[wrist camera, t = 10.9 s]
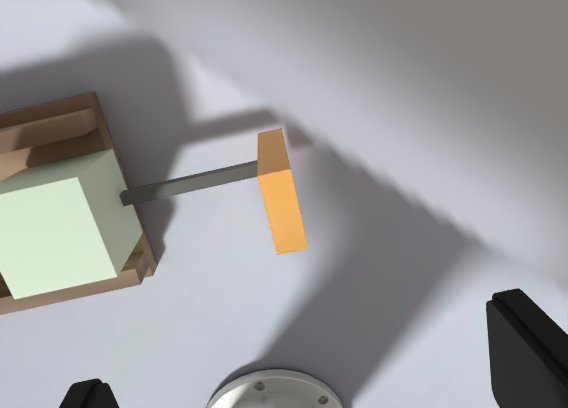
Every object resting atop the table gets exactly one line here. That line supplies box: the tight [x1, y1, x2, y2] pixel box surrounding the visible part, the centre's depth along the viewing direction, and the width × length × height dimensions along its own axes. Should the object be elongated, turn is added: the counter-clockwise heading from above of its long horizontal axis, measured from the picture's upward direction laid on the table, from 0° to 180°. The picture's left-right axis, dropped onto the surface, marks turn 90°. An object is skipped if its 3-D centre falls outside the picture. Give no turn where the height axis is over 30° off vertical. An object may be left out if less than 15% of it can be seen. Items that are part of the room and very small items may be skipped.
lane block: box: [0, 128, 308, 299], centre depth 25 cm, size 6×17×10 cm, turn 102°
